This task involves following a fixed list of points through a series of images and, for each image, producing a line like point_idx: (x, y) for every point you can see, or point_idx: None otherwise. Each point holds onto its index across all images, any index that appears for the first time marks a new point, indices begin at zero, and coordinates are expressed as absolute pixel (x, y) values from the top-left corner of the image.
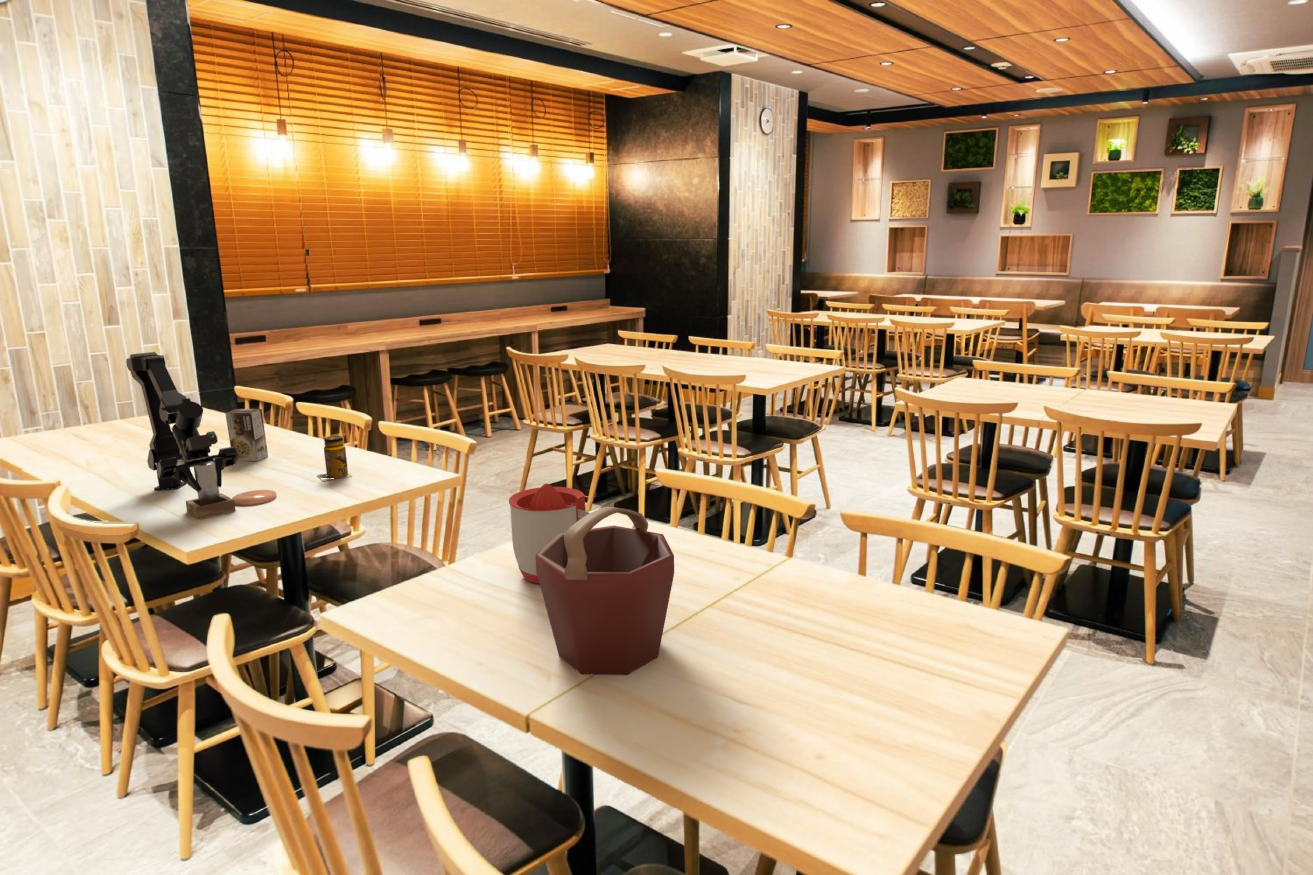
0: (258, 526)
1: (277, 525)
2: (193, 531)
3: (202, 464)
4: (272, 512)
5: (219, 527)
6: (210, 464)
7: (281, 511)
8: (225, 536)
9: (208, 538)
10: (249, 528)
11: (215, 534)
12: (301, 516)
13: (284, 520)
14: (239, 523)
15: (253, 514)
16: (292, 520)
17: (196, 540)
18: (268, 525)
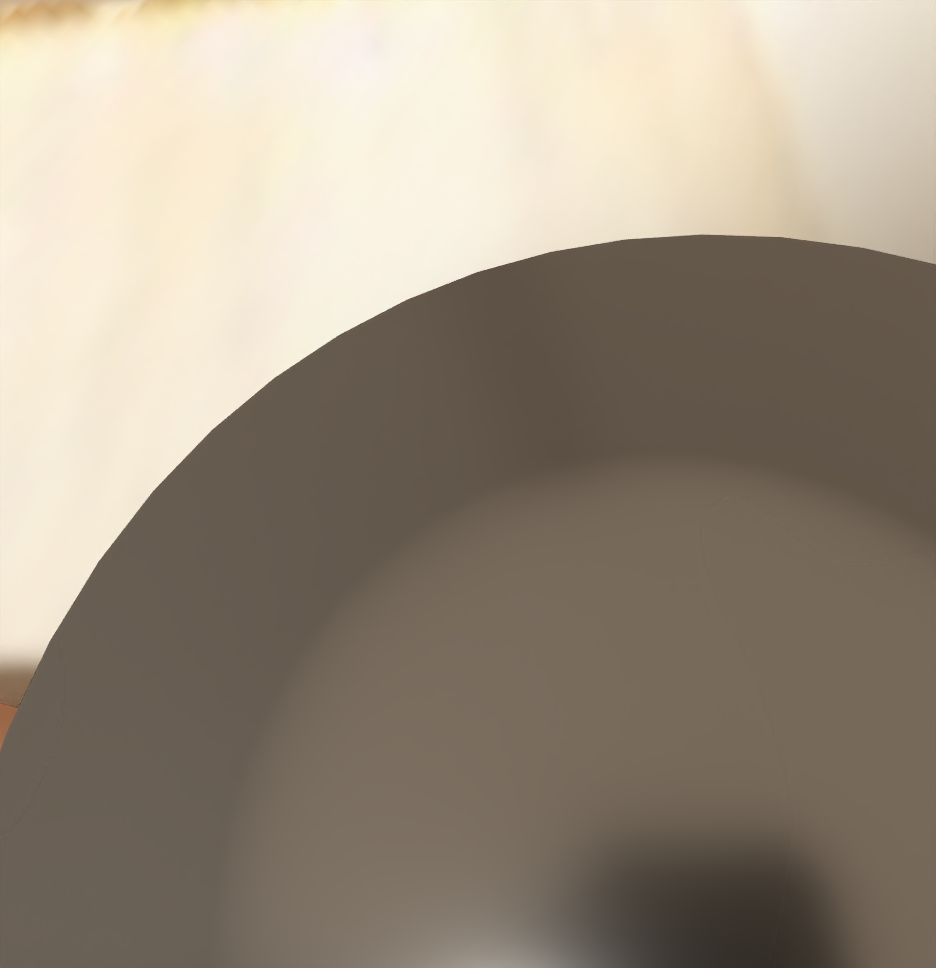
0: (395, 56)
1: (285, 3)
2: (904, 256)
3: (912, 814)
4: (118, 306)
5: (662, 214)
6: (448, 392)
7: (52, 280)
8: (678, 3)
9: (804, 31)
10: (467, 55)
11: (735, 78)
12: (50, 73)
13: (187, 65)
14: (480, 206)
15: (266, 368)
16: (150, 35)
17: (900, 41)
18: (330, 36)
